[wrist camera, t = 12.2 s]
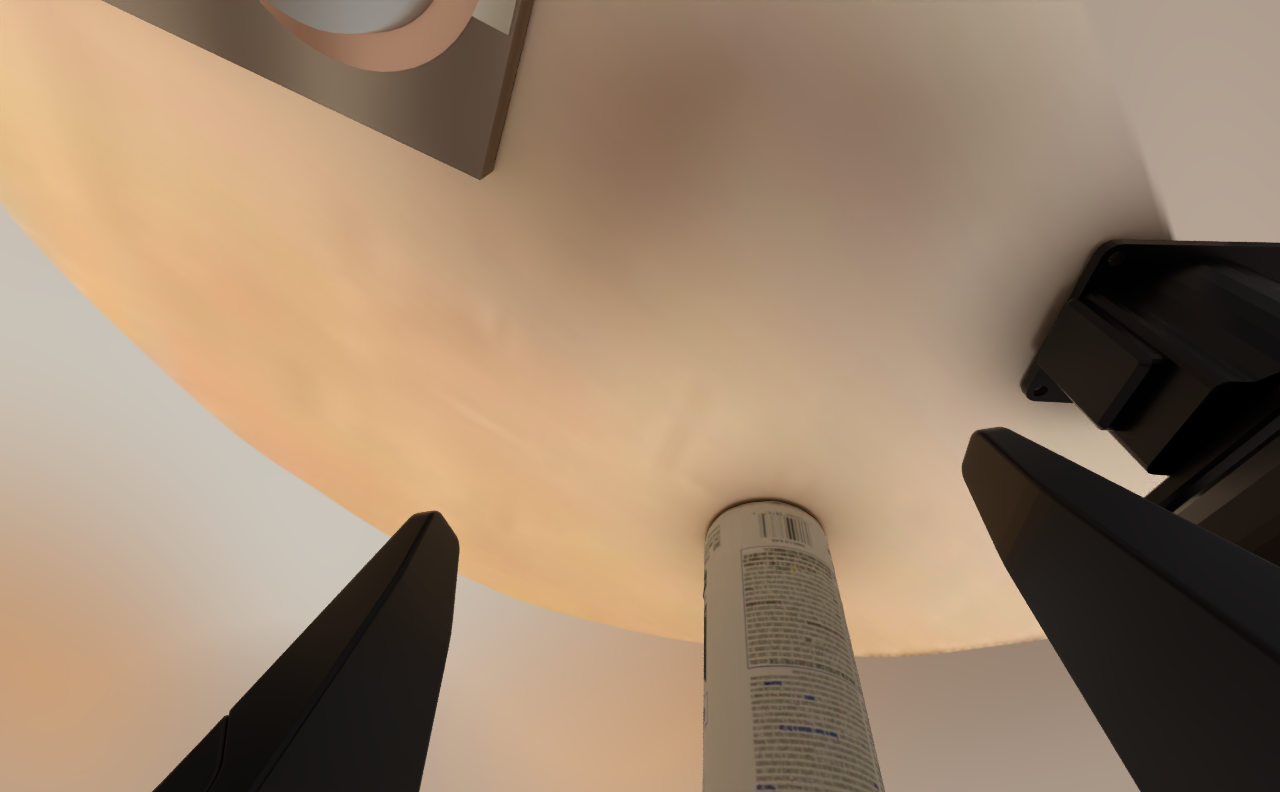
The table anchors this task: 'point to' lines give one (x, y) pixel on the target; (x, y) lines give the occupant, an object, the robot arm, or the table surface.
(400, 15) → the ring stacking peg
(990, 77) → the table surface
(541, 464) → the table surface
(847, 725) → the spray can
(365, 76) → the digital kitchen scale
